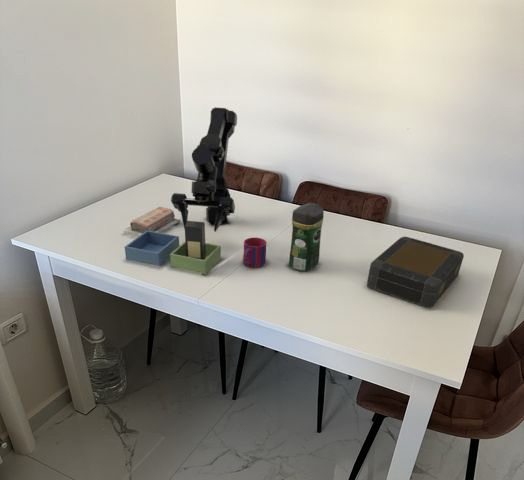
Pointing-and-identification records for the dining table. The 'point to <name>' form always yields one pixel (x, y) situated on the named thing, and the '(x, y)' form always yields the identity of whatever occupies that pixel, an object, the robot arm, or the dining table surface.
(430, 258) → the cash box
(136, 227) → the packaged product
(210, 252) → the green bin
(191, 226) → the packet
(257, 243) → the red cup
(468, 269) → the dining table surface
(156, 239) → the blue bin
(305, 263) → the coffee jar
